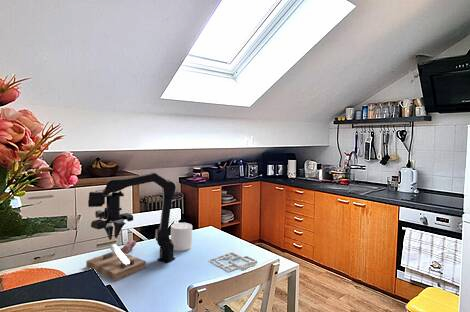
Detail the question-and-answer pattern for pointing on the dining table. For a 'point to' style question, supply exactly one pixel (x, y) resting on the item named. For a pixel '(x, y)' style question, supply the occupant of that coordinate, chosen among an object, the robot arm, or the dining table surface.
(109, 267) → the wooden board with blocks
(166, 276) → the dining table surface
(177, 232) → the cup
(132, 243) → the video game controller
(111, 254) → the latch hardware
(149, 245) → the dining table surface
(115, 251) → the strap
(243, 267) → the floor plan model
